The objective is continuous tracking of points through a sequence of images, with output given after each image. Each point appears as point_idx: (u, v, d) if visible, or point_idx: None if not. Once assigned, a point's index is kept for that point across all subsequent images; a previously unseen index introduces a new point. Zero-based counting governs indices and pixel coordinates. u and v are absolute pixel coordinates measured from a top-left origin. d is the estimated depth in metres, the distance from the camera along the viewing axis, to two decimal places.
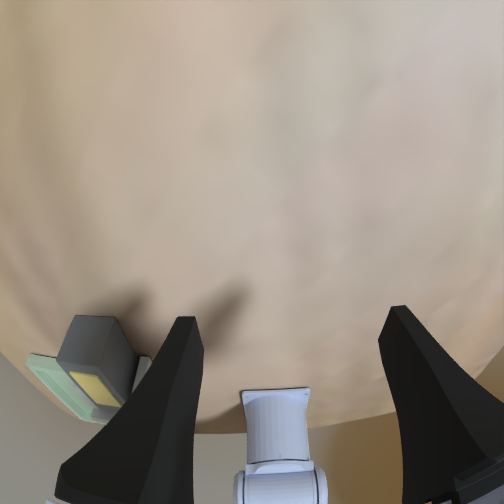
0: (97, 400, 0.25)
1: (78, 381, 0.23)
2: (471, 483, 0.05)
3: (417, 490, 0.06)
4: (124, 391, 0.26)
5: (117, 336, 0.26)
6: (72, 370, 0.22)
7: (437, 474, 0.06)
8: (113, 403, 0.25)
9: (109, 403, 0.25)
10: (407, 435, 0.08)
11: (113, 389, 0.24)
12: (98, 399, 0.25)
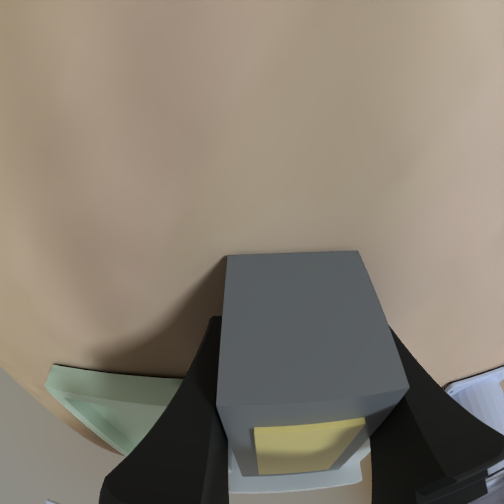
0: (271, 470, 0.10)
1: (264, 447, 0.08)
2: (435, 498, 0.05)
3: (383, 500, 0.07)
4: None
5: None
6: (270, 424, 0.07)
7: (400, 486, 0.06)
8: (316, 468, 0.10)
9: (303, 469, 0.10)
10: (375, 442, 0.08)
11: (363, 439, 0.09)
12: (279, 469, 0.10)
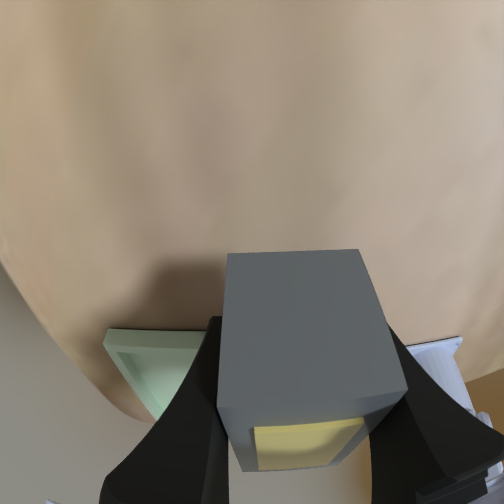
0: (271, 466, 0.10)
1: (264, 445, 0.08)
2: (435, 498, 0.05)
3: (383, 500, 0.07)
4: None
5: None
6: (270, 423, 0.07)
7: (400, 486, 0.06)
8: (315, 464, 0.10)
9: (302, 465, 0.10)
10: (375, 442, 0.08)
11: (362, 437, 0.09)
12: (278, 465, 0.10)
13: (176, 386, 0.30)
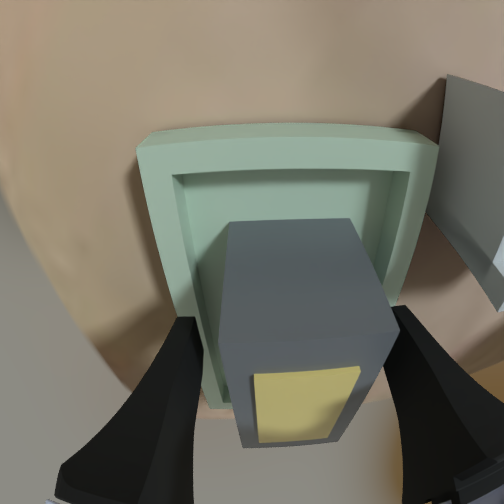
0: (271, 436, 0.11)
1: (264, 400, 0.09)
2: (471, 483, 0.05)
3: (417, 490, 0.06)
4: None
5: None
6: (269, 369, 0.08)
7: (437, 474, 0.06)
8: (315, 435, 0.11)
9: (302, 436, 0.11)
10: (407, 435, 0.08)
11: (360, 398, 0.09)
12: (278, 434, 0.11)
13: None
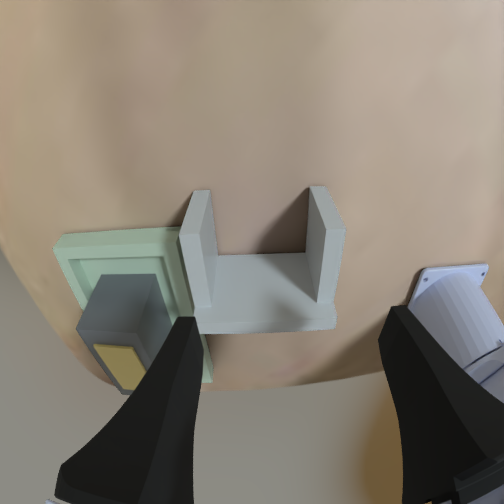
0: (125, 384, 0.21)
1: (104, 358, 0.19)
2: (471, 483, 0.05)
3: (417, 490, 0.06)
4: None
5: (156, 298, 0.22)
6: (97, 342, 0.18)
7: (437, 474, 0.06)
8: None
9: None
10: (407, 435, 0.08)
11: None
12: (127, 383, 0.21)
13: None
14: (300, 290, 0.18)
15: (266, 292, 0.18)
